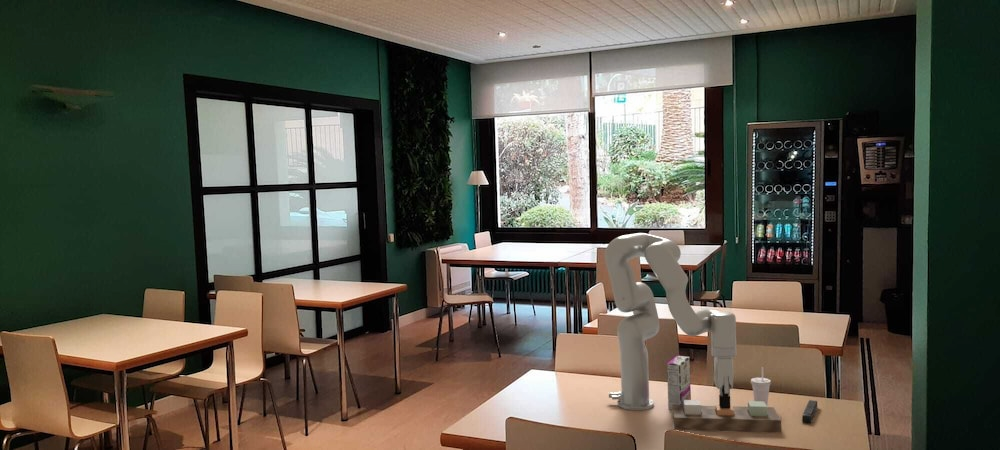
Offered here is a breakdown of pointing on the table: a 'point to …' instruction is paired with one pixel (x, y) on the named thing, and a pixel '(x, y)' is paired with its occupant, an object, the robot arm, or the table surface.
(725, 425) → the console
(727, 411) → the tan block
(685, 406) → the grey button
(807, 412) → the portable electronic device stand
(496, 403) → the table surface
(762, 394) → the smoothie
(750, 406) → the sage button
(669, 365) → the candy bar box
